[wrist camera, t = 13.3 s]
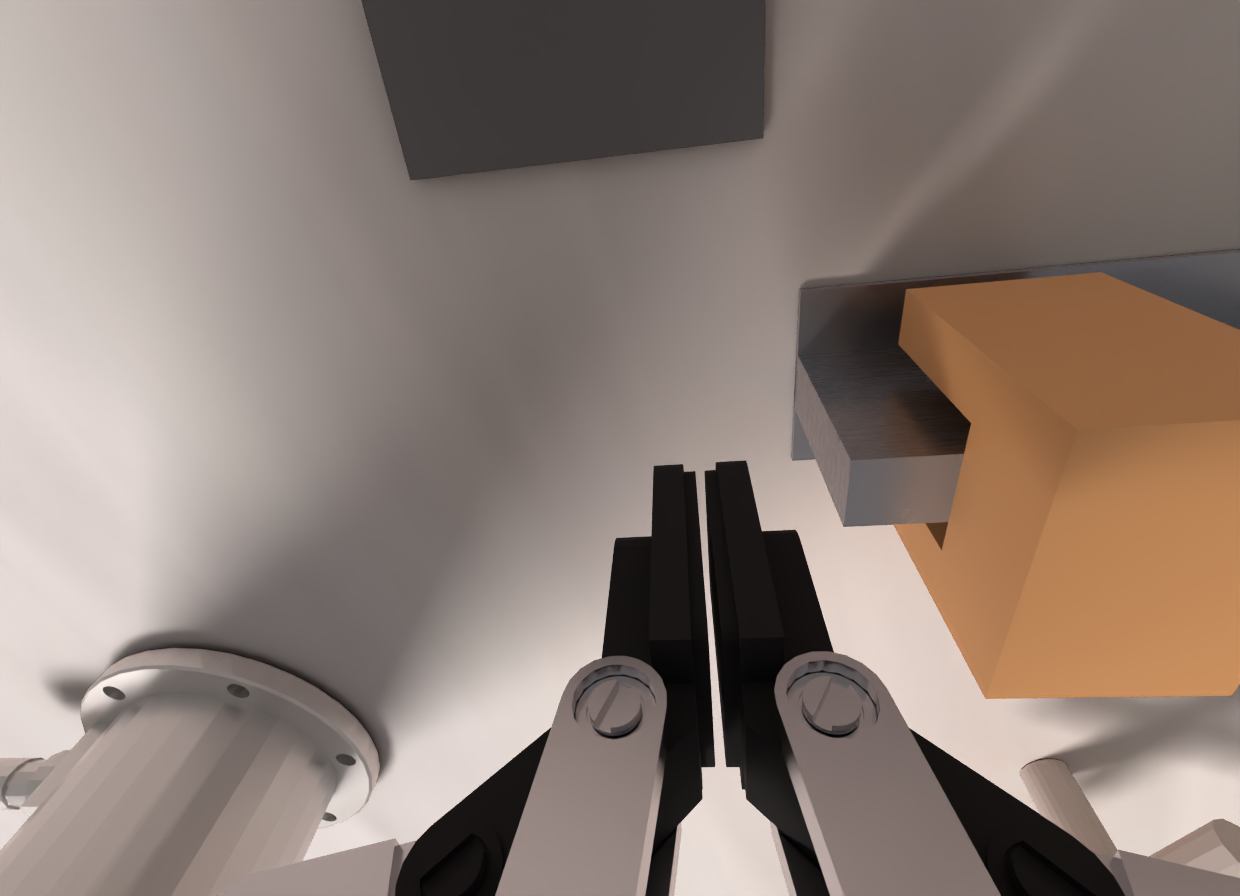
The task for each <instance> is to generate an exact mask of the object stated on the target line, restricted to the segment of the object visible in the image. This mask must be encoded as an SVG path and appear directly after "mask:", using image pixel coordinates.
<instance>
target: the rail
mask: <svg viewBox="0 0 1240 896" xmlns="http://www.w3.org/2000/svg"><path fill="white" fill-rule="evenodd" d="M1097 272H1102V273H1104V274H1106V275H1109V276H1111V277H1114V278H1116V279H1118V280H1121V281H1123V282H1126V283H1128V284H1130V285H1133V286H1135V287H1138V288H1140V289H1142V290H1145V291H1147V292H1150V293H1152V294H1154V295H1157V296H1159V297H1162V298H1164V299H1166V300H1169V301H1171V302H1174V303H1176V304H1178V305H1181V306H1183V307H1186V308H1188V309H1190V310H1193V311H1195V312H1198V313H1200V314H1202V315H1205V316H1207V317H1210V318H1212V319H1214V320H1217V321H1219V322H1222V323H1224V324H1226V325H1229V326H1231V327H1234V328H1236V329H1238V330H1240V249H1238V250H1227V251H1216V252H1205V253H1194V254H1183V255H1172V256H1161V257H1150V258H1139V259H1127V260H1116V261H1105V262H1094V263H1083V264H1072V265H1061V266H1050V267H1039V268H1028V269H1017V270H1006V271H994V272H983V273H972V274H961V275H950V276H939V277H928V278H917V279H906V280H895V281H884V282H873V283H861V284H850V285H839V286H828V287H817V288H806V289H799V307H798V328H797V349H796V370H795V390H794V411H793V432H792V453H791V458H792V460H793V461H794V460H812V459H816V461H817V463H818V466H819V468H820V471H821V473H822V476H823V478H824V480H825V483H826V485H827V488H828V490H829V493H830V495H831V497H832V500H833V502H834V505H835V507H836V510H837V512H838V514H839V517H840V519H841V522H842V524H843V527H849V526H871V525H893V524H916V523H938V522H949V517H950V513H951V509H952V504H953V500H954V496H955V491H956V487H957V483H958V478H959V474H960V470H961V465H962V461H963V457H964V452H965V448H966V444H967V439H968V435H969V431H970V426H971V423H970V421H969V420H968V419H967V418H966V417H965V416H964V415H963V414H962V413H961V412H960V411H959V410H958V408H957V407H956V406H955V405H954V404H953V403H952V402H951V401H950V400H949V399H948V398H947V397H946V395H945V394H944V393H943V392H942V391H941V390H940V389H939V388H938V387H937V386H936V385H935V384H934V382H933V381H932V380H931V379H930V378H929V377H928V376H927V375H926V374H925V373H924V372H923V371H922V369H921V368H920V367H919V366H918V365H917V364H916V363H915V362H914V361H913V360H912V359H911V358H910V356H909V355H908V354H907V353H906V352H905V351H904V350H903V349H902V348H901V347H900V346H899V345H898V342H899V335H900V328H901V321H902V315H903V308H904V301H905V294H906V289H914V288H926V287H937V286H949V285H960V284H971V283H983V282H994V281H1006V280H1017V279H1029V278H1040V277H1052V276H1063V275H1074V274H1086V273H1097Z"/></svg>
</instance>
